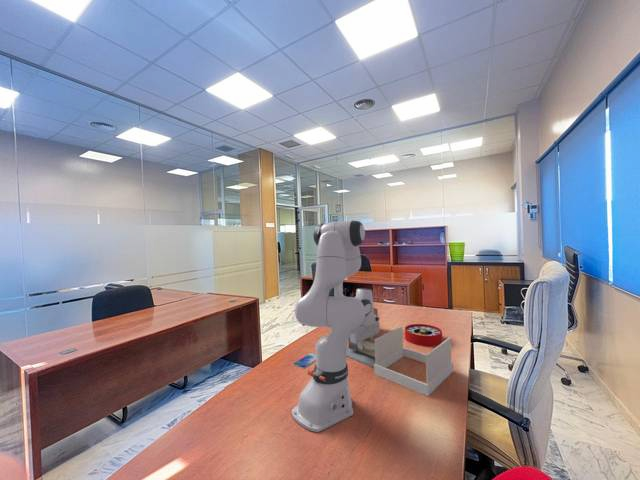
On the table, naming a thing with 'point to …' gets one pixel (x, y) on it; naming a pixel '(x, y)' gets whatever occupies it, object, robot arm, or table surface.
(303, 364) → the smartphone
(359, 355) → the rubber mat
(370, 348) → the block
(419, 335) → the toy clock
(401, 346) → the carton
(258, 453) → the table surface
